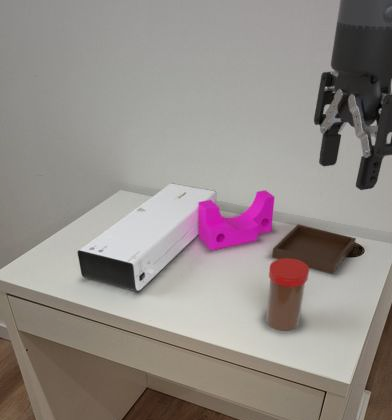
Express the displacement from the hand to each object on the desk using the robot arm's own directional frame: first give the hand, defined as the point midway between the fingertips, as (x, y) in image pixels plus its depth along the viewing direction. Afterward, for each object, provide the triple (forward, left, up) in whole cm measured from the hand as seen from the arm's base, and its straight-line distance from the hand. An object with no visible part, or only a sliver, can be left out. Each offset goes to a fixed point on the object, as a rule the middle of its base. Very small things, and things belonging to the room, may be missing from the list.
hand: (344, 175), depth 60 cm
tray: (-23, -9, -24) cm, 35 cm away
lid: (+1, -5, -15) cm, 16 cm away
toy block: (-22, -25, -24) cm, 41 cm away
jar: (+1, -5, -24) cm, 25 cm away
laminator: (-9, -37, -24) cm, 45 cm away
